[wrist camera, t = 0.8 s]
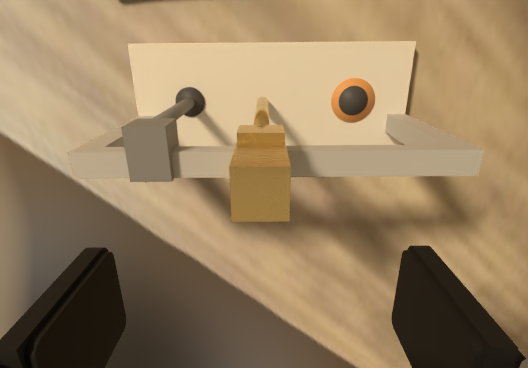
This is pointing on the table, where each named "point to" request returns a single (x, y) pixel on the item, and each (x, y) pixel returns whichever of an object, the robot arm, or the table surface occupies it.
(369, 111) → the white rack frame
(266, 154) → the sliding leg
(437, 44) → the table surface
